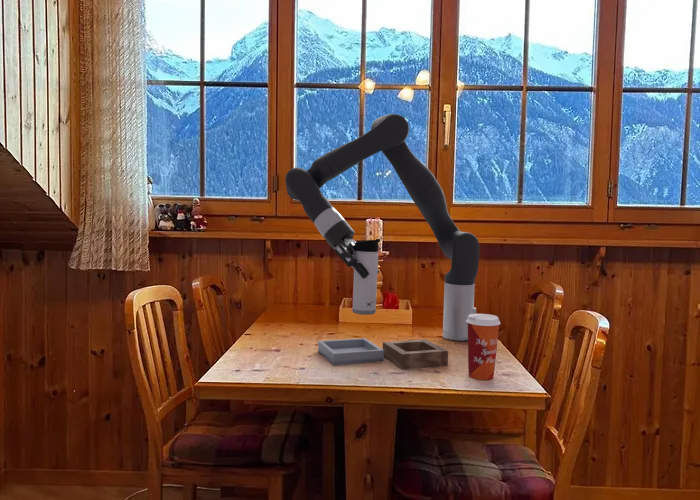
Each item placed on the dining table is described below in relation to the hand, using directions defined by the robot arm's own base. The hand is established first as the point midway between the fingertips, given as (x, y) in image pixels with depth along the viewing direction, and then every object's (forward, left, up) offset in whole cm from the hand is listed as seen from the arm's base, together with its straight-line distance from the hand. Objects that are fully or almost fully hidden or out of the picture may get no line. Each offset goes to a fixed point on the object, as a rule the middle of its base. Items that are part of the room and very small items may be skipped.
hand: (371, 275), depth 159 cm
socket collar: (-11, +6, -23) cm, 26 cm away
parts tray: (+4, -3, -23) cm, 23 cm away
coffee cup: (-21, +23, -23) cm, 38 cm away
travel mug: (+1, -1, -10) cm, 11 cm away
